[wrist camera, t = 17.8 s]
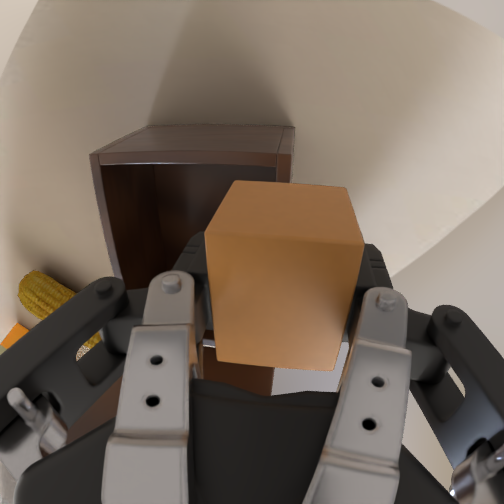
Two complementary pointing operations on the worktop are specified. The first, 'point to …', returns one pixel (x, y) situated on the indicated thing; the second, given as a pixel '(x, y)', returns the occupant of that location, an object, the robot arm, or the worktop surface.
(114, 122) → the worktop surface
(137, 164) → the bin
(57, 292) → the food
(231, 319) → the tan cuboid
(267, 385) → the bread lid
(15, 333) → the orange juice
